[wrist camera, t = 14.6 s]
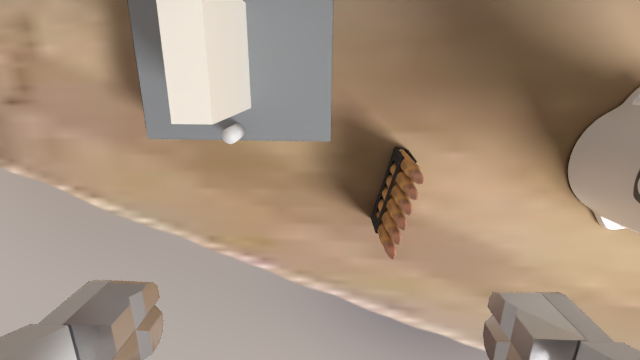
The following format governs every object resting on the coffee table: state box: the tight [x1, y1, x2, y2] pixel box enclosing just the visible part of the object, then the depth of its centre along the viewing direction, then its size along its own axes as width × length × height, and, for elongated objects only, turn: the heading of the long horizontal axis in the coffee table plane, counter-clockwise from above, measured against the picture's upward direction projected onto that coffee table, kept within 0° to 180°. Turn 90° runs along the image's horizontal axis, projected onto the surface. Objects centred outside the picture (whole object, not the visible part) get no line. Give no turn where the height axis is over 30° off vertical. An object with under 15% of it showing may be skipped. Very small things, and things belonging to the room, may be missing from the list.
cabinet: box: [127, 0, 333, 144], centre depth 37 cm, size 21×17×11 cm
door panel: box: [156, 0, 251, 125], centre depth 29 cm, size 3×10×12 cm, turn 0°
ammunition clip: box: [371, 147, 424, 259], centre depth 41 cm, size 11×2×12 cm, turn 165°
